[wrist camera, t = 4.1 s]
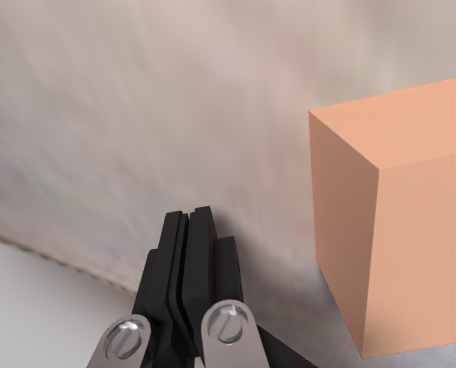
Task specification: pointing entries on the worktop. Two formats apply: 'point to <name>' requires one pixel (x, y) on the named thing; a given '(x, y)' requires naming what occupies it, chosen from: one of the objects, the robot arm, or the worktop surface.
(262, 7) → the worktop surface
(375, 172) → the peach block
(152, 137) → the worktop surface
